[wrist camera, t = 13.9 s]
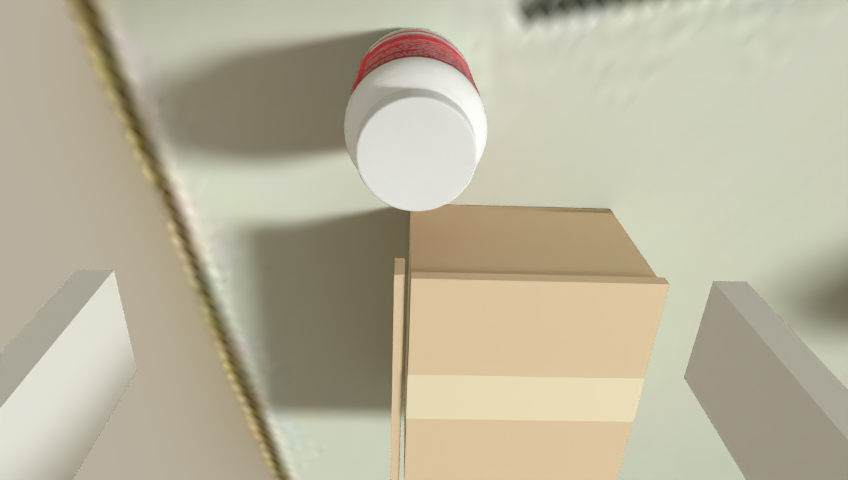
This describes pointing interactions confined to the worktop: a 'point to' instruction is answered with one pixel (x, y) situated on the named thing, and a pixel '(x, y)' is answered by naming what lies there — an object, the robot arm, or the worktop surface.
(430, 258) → the carton
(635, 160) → the worktop surface
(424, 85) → the pill bottle
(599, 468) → the lid
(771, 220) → the worktop surface
